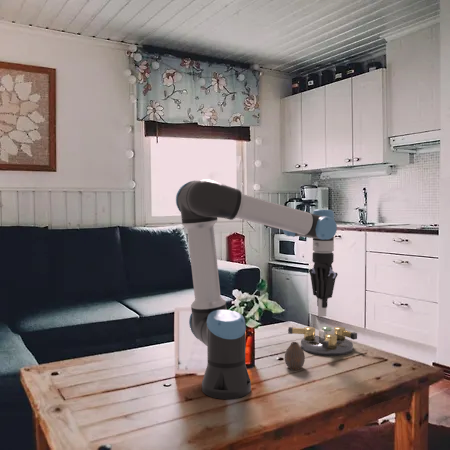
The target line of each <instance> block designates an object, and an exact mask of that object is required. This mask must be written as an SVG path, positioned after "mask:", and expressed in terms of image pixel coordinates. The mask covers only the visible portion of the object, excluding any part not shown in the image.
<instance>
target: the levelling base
mask: <svg viewBox="0 0 450 450" xmlns="http://www.w3.org/2000/svg"><path fill="white" fill-rule="evenodd" d="M326 334H334V335H335V330H334V328H332V327H331V326H322V327H321V328H319V329H318V335H315V340H314V341H306V340H304V338H302V339H301V340H300V347H301V349H302V350H303V352H304V351H305V352H306V353H309V354H313V355H316V354H317V356H324V357H325V356H326V357H339V356H340V357H341V356H345V355H348V354H351V353H352V352H353V350H354V344H353V342H352V341H351V340H348V339H347V338H345V340H344V341H337V348H336V349H327V348H322V342H323V341H325V335H326Z"/></svg>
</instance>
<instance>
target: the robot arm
mask: <svg viewBox="0 0 450 450" xmlns="http://www.w3.org/2000/svg"><path fill="white" fill-rule="evenodd" d="M175 204H176V207H177V209H178V211H179V213H180V216H181V225H182V226H184V227H185V228H186V229H187V239H188V247H189V255H190V257H189V258H190V265H191V275H192V285H193V292H194V301H193V302H191V304H190V308H191V313H190V316H189V320H188V321H189V322H188V323H189V324H188V325H189V329H190V328H191V329H190V331H191V333H192V334H193V336H194V337H195V338H196V339H197V340H199V341H200V342H201V343H202V344H204V345H205V346H206V348H207V351H206V352H207V357H206V358H207V365H206V369H205V372H204V375H203V378H202V382H201V391H202V393H203V394H204V395H206V396H208V397H210V398H214V399H220V400H234V399H239V398H242V397H245V396H247V395H249V394H250V393H251V392H252V380H251V378H250V374H249V372H248V368H247V366H246V330H247V327H246V320H245V317H244V316H243V314H241V313H240V312H239V311H234V310H230V309H227V301H226V300H225V299H224V298H222V296H221V287H220V277H219V267H218V266H219V265H218V257H217V249H216V248H217V247H216V239H215V238H216V237H215V230H214V229H215V227H214V226H215V224H216V223H217V222H218V218H219V219H226V220H229V221H234V220H236V219H240V220H244V221H247V222H251V223H254V224H259V225H262V226H267V227H271V228H274V229H279V230H282V231H283V233H284V236H286V237H293V238H294V237H302V238H309V239H312V251H313V252H312V260H311V261H312V263H313V265H312V266H313V267H312V268H310V269H308V273H309V276H310V281H311V289H312V295H313V296H315V297H316V298H317V299H316V301H317V304H316V305H317V316H318V317H319V318H322V317H327V308H328V299H330V298H332V297H333V293H334V289H335V283H336V279H337V278H338V277H337V276H338V272H335V271H334V270H333V263H334V261H335V260H334V258H335V257H334V256H335V255H334V250H335V245H334V243H335V241H334V240H335V239H334V238H335V235H336V233H337V230H338V225H337V222H336V220H335V212H334V210H332V209H313V211H312V213H311V212H307V211H304V210H300V209H296V208H293V207H289V206H286V205H283V204H280V203H276V202H273V201H268V200H264V199H261V198H258V197H255V196H252V195H248V194H244V193H243V192H242V191H241V189H239V188H235V187H231V186H229V185H226V184H224V183H222V182H221V183H220V182H218V181H215V180H212V179H200V180H190V181H188V182H186V183H184V184H183V185H182V186H180V187H179V189H178V191H177V193H176V196H175Z"/></svg>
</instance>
